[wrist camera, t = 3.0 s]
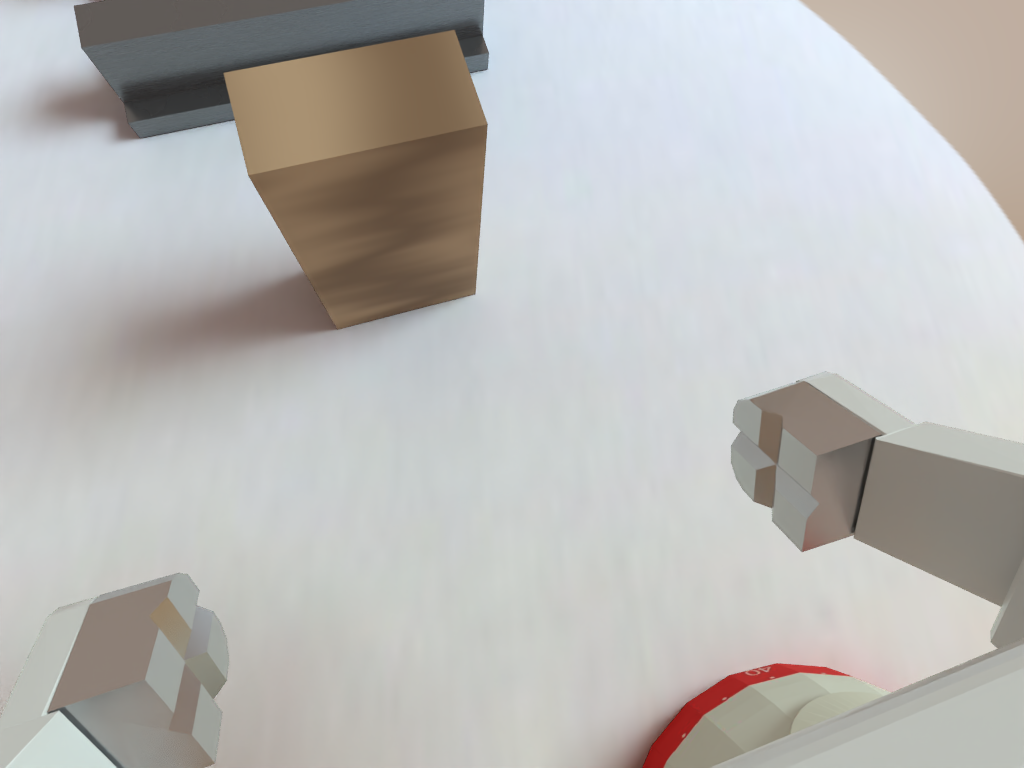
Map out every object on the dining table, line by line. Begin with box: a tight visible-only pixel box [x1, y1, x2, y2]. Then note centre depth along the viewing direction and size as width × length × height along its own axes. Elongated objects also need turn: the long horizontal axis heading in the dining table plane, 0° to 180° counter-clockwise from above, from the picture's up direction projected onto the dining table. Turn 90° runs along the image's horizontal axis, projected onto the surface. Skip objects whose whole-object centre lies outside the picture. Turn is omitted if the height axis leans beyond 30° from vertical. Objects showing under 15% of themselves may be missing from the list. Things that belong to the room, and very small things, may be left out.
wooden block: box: [224, 30, 488, 330], centre depth 20 cm, size 6×3×11 cm, turn 107°
